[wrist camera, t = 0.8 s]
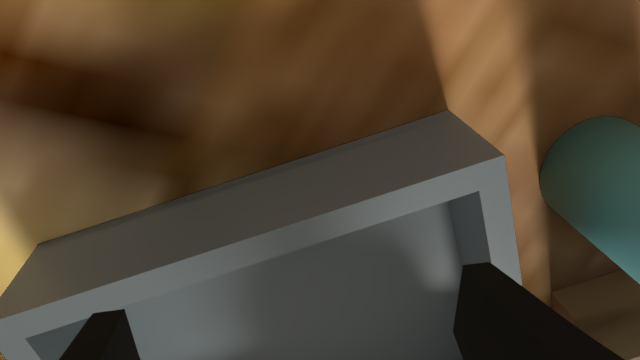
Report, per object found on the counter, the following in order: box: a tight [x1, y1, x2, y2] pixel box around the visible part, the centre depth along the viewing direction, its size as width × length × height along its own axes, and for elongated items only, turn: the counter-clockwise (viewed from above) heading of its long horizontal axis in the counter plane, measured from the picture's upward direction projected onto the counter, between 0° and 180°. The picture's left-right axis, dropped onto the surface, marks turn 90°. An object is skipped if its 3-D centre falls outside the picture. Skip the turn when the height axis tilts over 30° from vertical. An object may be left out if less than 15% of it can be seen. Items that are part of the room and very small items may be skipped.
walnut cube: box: [551, 269, 640, 360], centre depth 24 cm, size 5×5×5 cm
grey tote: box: [0, 110, 522, 360], centre depth 21 cm, size 14×18×5 cm
